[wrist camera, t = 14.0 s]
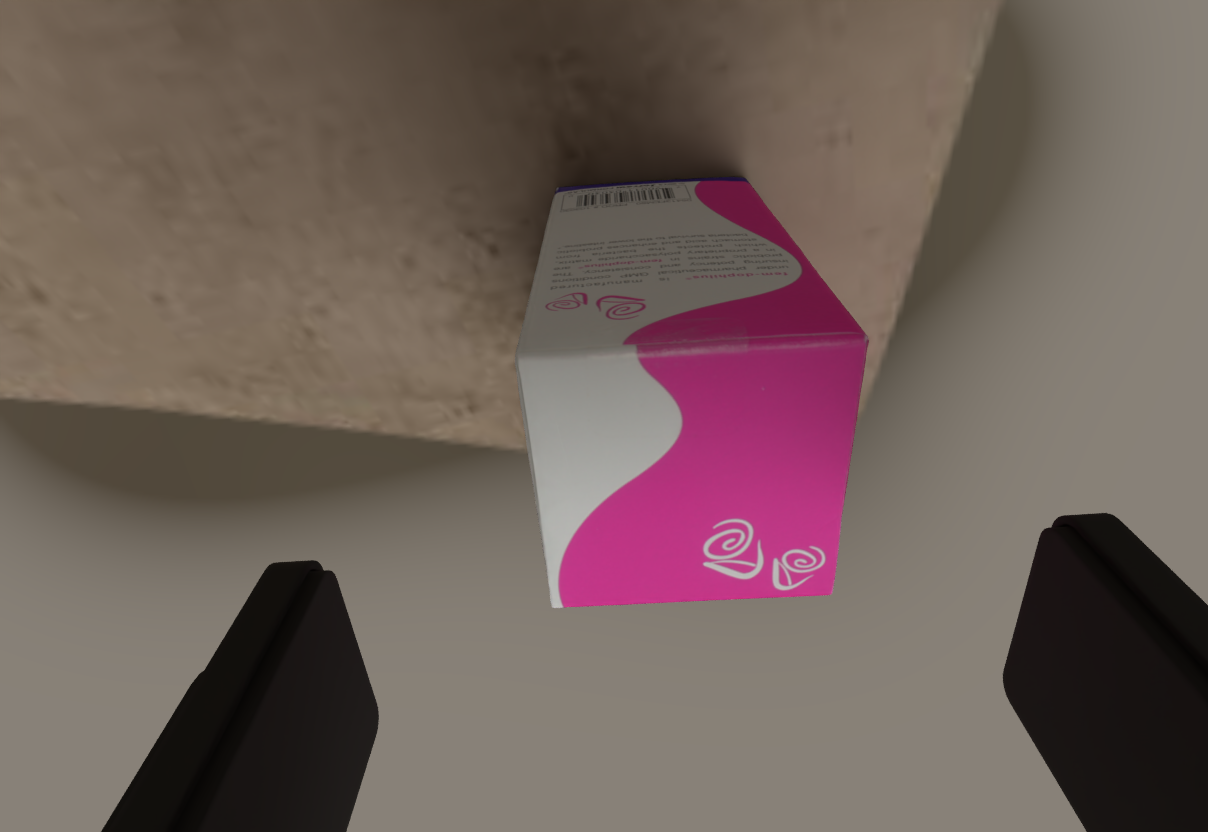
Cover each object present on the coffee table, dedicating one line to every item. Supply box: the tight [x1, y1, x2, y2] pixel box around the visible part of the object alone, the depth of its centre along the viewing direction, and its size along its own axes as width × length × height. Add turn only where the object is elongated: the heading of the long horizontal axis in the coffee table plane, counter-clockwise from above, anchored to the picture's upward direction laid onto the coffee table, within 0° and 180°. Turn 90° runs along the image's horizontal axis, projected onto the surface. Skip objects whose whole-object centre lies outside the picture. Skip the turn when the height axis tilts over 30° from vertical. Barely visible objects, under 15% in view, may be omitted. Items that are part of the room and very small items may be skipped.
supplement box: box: [515, 177, 869, 608], centre depth 18 cm, size 6×6×12 cm
